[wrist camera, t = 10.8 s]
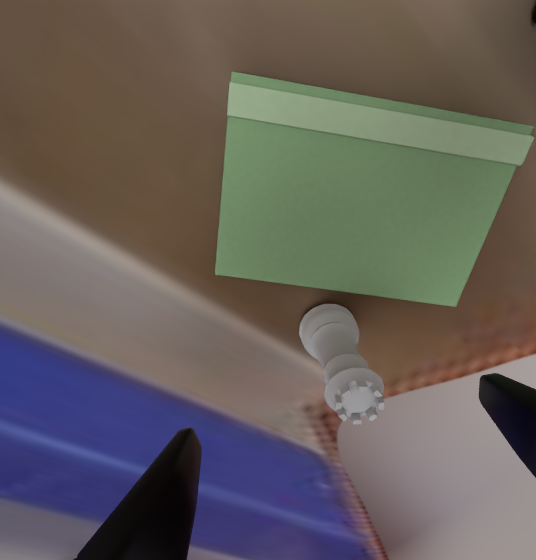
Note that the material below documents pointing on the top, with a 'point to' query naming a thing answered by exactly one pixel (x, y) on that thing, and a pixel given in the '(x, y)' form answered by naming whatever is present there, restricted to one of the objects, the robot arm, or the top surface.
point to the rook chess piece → (342, 362)
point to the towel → (358, 190)
